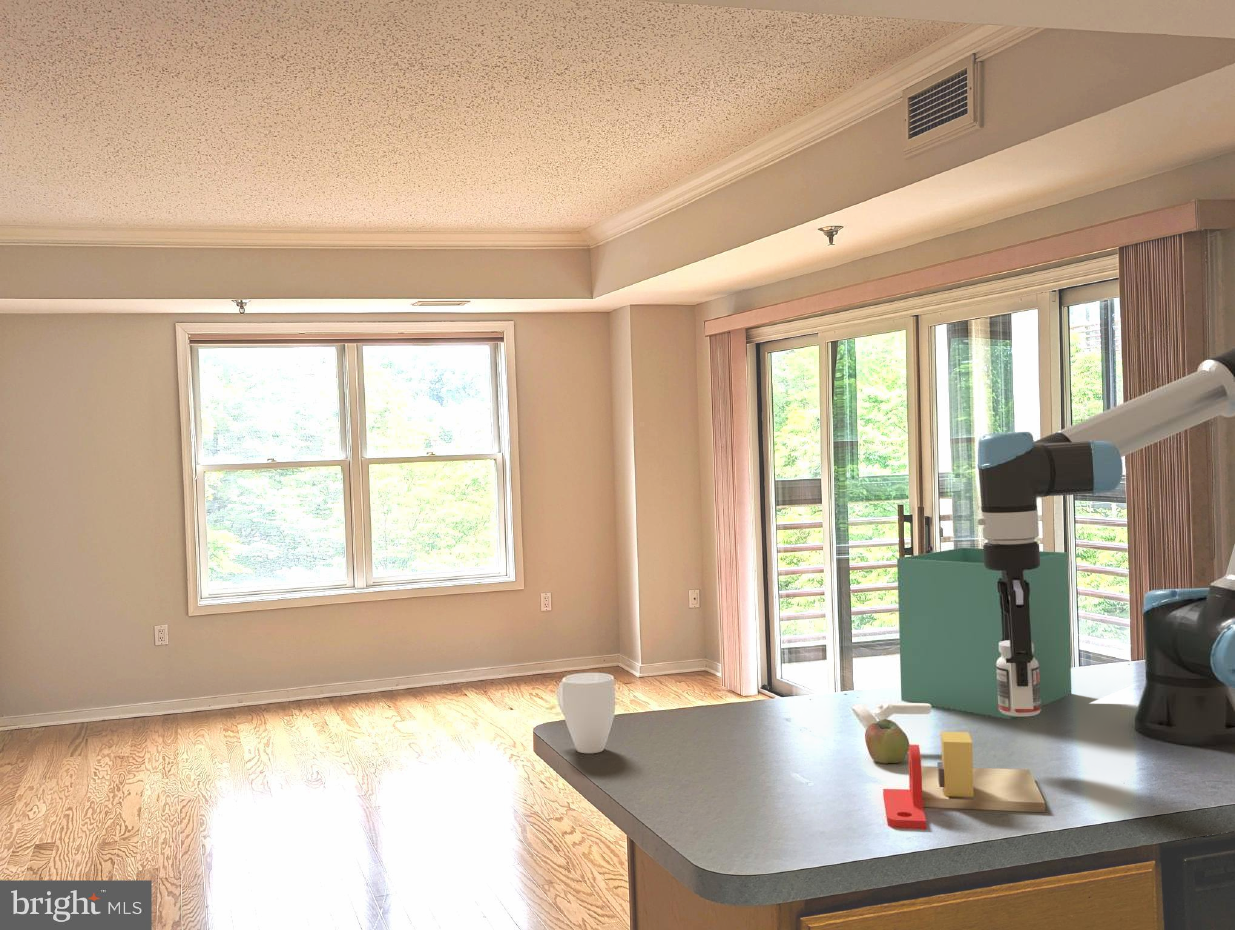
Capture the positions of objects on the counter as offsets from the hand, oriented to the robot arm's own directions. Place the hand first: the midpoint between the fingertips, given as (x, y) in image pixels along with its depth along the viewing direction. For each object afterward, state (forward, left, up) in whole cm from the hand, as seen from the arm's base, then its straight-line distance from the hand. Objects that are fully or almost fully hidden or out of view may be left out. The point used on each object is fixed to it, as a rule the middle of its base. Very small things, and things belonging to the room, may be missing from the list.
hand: (1019, 702), depth 153 cm
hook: (+18, -8, -10) cm, 22 cm away
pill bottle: (0, 0, -2) cm, 2 cm away
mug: (+66, -3, -10) cm, 66 cm away
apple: (+19, -1, -10) cm, 21 cm away
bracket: (+17, +21, -10) cm, 29 cm away
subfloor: (+7, +12, -9) cm, 17 cm away
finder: (+8, +16, -5) cm, 18 cm away
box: (+1, -43, -10) cm, 44 cm away
